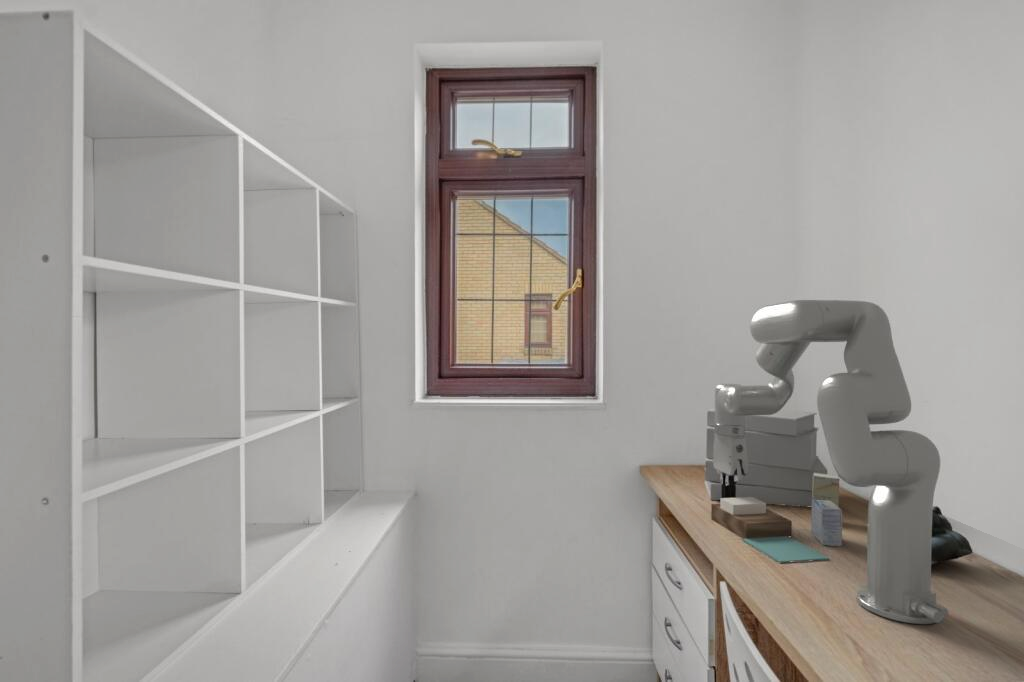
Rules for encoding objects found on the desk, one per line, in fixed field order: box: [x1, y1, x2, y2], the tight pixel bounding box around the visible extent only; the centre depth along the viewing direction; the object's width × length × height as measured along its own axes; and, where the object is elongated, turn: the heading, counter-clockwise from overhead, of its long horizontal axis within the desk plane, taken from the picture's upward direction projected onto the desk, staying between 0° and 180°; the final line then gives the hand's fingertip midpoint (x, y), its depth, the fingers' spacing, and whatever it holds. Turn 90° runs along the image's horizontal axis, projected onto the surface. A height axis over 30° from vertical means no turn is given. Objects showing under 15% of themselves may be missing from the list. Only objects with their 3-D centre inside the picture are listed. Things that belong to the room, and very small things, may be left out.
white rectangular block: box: [719, 497, 767, 515], centre depth 148 cm, size 6×9×2 cm, turn 100°
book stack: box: [703, 408, 828, 507], centre depth 179 cm, size 30×35×26 cm
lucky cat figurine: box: [931, 505, 973, 566], centre depth 127 cm, size 15×12×14 cm
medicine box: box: [811, 500, 843, 547], centre depth 138 cm, size 8×4×9 cm, turn 168°
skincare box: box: [811, 473, 840, 521], centre depth 153 cm, size 6×4×12 cm
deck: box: [710, 503, 793, 539], centre depth 147 cm, size 16×12×4 cm
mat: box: [741, 536, 830, 564], centre depth 132 cm, size 14×12×1 cm
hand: (728, 499), depth 155 cm, fingers closed
